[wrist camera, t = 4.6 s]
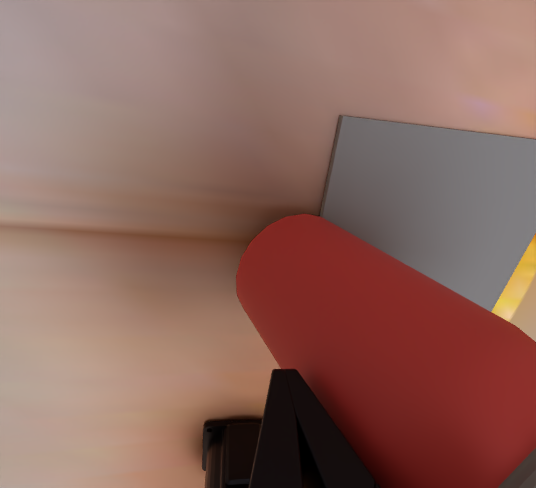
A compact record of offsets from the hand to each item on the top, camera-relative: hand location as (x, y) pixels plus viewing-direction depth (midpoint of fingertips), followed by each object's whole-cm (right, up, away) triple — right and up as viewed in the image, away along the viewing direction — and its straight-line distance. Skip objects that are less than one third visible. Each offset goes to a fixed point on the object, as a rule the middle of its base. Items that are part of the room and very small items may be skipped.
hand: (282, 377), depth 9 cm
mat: (+9, +3, +10) cm, 14 cm away
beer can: (+1, +3, +8) cm, 8 cm away
